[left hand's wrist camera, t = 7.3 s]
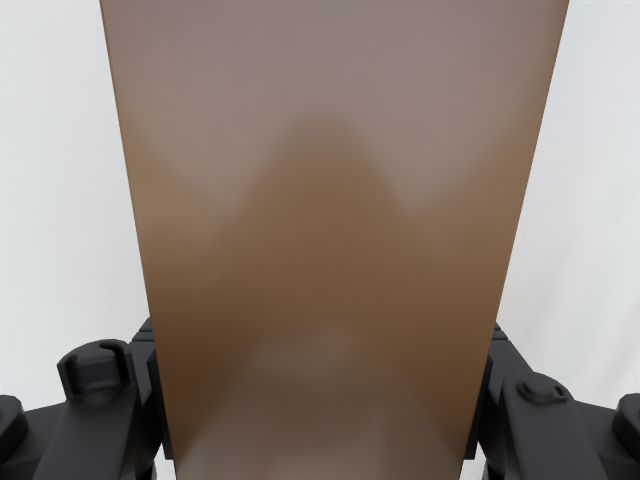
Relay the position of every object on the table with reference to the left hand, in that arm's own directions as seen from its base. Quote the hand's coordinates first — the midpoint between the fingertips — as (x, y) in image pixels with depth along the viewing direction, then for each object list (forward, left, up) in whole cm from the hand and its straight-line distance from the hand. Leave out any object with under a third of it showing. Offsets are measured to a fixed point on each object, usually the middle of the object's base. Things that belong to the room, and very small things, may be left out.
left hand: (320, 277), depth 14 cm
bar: (+23, -11, 0) cm, 25 cm away
